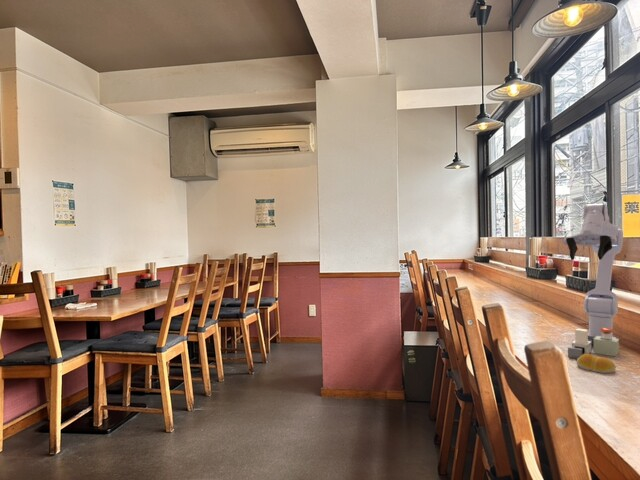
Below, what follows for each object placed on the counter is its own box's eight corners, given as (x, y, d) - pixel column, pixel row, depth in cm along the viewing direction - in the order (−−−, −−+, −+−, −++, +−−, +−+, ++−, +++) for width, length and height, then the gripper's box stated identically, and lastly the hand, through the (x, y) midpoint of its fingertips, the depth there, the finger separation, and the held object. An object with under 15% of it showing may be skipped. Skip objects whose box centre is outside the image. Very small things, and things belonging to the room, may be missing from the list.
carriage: (575, 348, 136) (575, 327, 136) (591, 350, 133) (591, 329, 133) (571, 351, 132) (571, 330, 132) (587, 354, 129) (587, 332, 129)
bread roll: (611, 376, 109) (611, 361, 109) (573, 368, 116) (574, 354, 116) (619, 370, 115) (619, 356, 115) (583, 362, 122) (583, 349, 122)
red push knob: (600, 343, 134) (601, 327, 134) (613, 344, 132) (613, 328, 132) (599, 345, 132) (599, 328, 132) (611, 346, 130) (611, 330, 130)
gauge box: (596, 349, 136) (596, 335, 136) (618, 352, 132) (618, 338, 132) (593, 352, 132) (593, 338, 132) (616, 356, 128) (616, 342, 128)
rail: (583, 343, 144) (583, 334, 144) (595, 345, 141) (596, 336, 141) (567, 357, 126) (568, 347, 126) (581, 359, 124) (581, 349, 124)
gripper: (564, 222, 140) (556, 249, 133) (615, 218, 130) (610, 247, 122) (569, 237, 143) (562, 264, 136) (619, 234, 133) (614, 264, 125)
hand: (585, 257), depth 129 cm, fingers open, 7 cm apart
